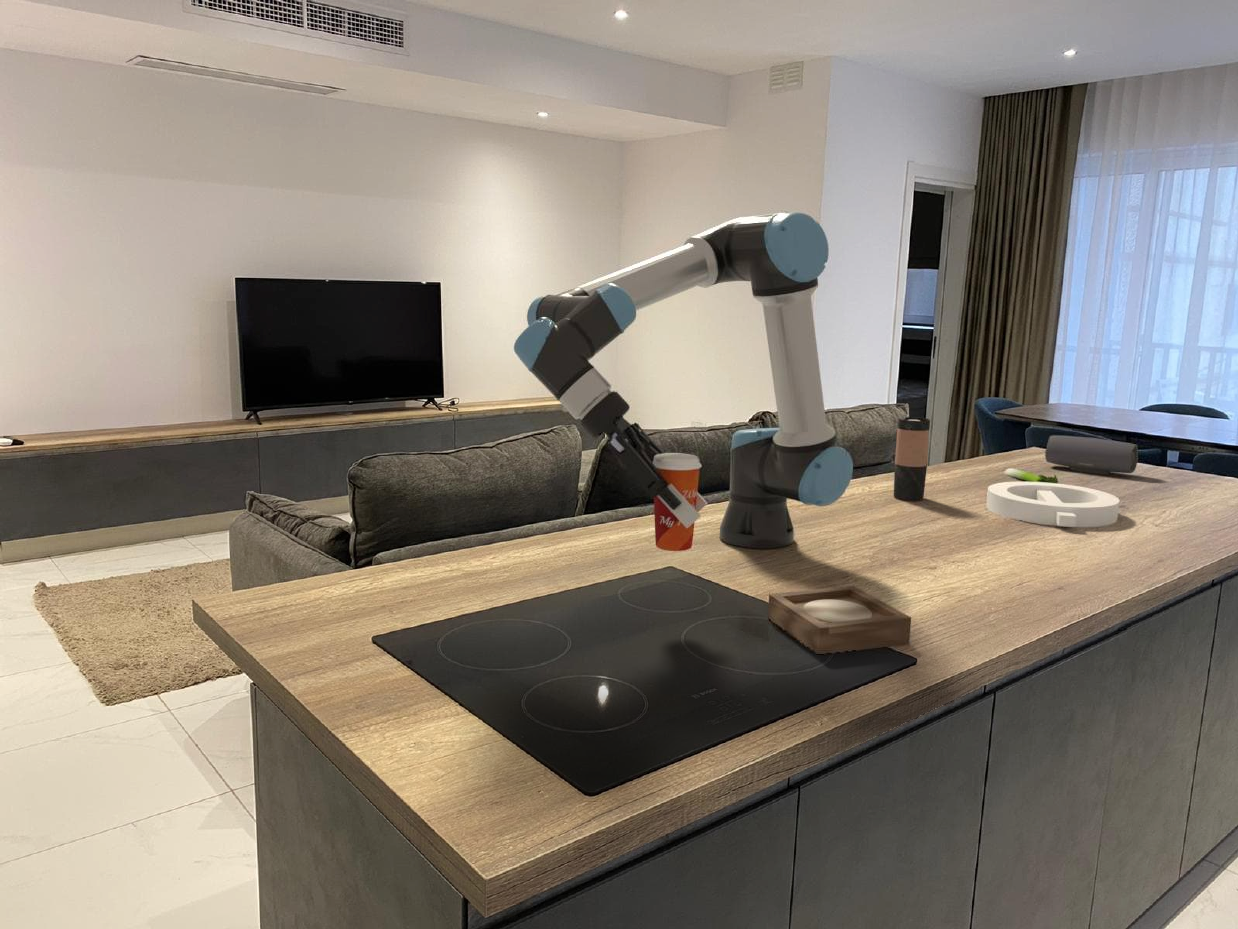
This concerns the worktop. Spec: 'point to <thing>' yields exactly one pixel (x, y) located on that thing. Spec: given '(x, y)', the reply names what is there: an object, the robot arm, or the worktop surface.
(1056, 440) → the bluetooth speaker
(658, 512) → the paper cup
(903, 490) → the travel mug
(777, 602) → the wooden coaster holder
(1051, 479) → the leek
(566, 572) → the worktop surface
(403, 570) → the worktop surface
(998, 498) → the white circle with bar
